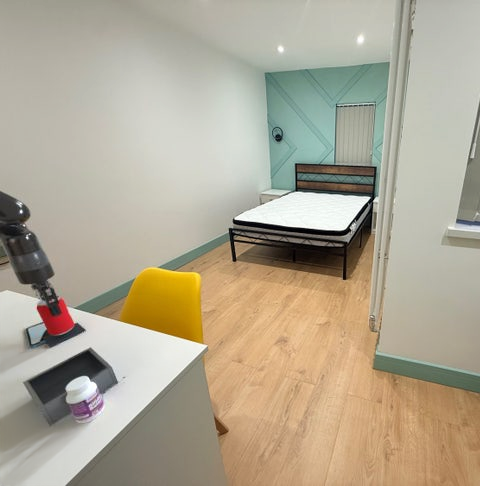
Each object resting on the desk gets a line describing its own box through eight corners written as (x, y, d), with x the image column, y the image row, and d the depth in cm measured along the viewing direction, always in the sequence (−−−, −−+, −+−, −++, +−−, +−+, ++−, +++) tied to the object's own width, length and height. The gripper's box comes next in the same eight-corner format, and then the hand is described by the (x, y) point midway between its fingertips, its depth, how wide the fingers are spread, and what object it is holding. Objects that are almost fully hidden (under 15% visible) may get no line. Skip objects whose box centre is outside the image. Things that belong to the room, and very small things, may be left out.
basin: (49, 426, 59) (39, 409, 57) (32, 398, 66) (22, 382, 64) (118, 382, 70) (111, 366, 68) (97, 361, 77) (90, 347, 75)
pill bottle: (100, 419, 61) (86, 389, 57) (72, 427, 59) (55, 397, 56) (109, 399, 66) (96, 370, 62) (83, 406, 64) (68, 377, 60)
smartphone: (53, 318, 96) (60, 334, 87) (54, 320, 96) (61, 337, 87) (24, 328, 90) (28, 347, 82) (25, 330, 91) (30, 350, 82)
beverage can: (72, 322, 91) (59, 292, 86) (77, 329, 88) (64, 298, 83) (47, 332, 86) (32, 301, 82) (52, 339, 83) (36, 308, 78)
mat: (50, 347, 82) (49, 345, 82) (43, 339, 86) (42, 337, 85) (85, 331, 89) (85, 329, 89) (78, 324, 93) (77, 322, 93)
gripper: (7, 264, 78) (30, 310, 85) (20, 276, 71) (44, 326, 77) (41, 255, 84) (61, 299, 91) (56, 265, 77) (77, 312, 83)
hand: (53, 311), depth 84 cm, fingers closed on beverage can, 6 cm apart
